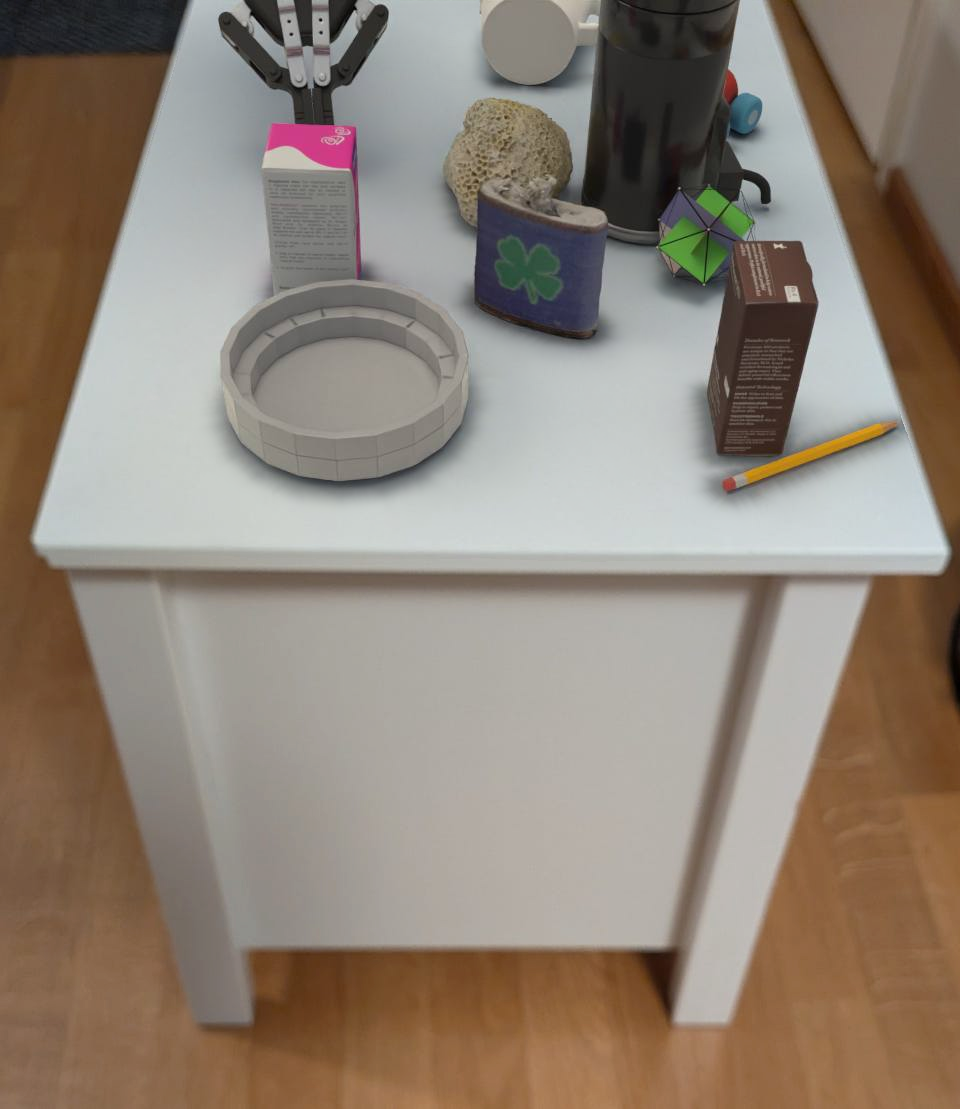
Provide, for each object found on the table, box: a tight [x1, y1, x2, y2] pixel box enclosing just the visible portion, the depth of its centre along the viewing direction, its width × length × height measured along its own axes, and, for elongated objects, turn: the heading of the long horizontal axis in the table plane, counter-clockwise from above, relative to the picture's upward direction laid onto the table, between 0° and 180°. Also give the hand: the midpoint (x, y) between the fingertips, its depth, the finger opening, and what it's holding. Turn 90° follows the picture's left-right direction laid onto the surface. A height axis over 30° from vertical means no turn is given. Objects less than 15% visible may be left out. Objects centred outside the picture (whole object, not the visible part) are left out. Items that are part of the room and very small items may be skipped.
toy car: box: [723, 68, 763, 141], centre depth 101 cm, size 9×9×10 cm
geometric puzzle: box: [655, 184, 757, 287], centre depth 88 cm, size 7×7×8 cm
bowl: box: [219, 279, 469, 482], centre depth 79 cm, size 15×15×4 cm
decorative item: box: [442, 97, 574, 229], centre depth 94 cm, size 12×9×10 cm
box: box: [706, 240, 820, 457], centre depth 75 cm, size 6×4×12 cm
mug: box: [479, 0, 600, 86], centre depth 108 cm, size 12×9×8 cm
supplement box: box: [260, 122, 362, 296], centre depth 84 cm, size 6×6×12 cm
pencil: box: [721, 420, 901, 493], centre depth 78 cm, size 1×13×1 cm
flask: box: [473, 175, 609, 339], centre depth 83 cm, size 9×3×11 cm, turn 63°
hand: (317, 143), depth 92 cm, fingers closed
